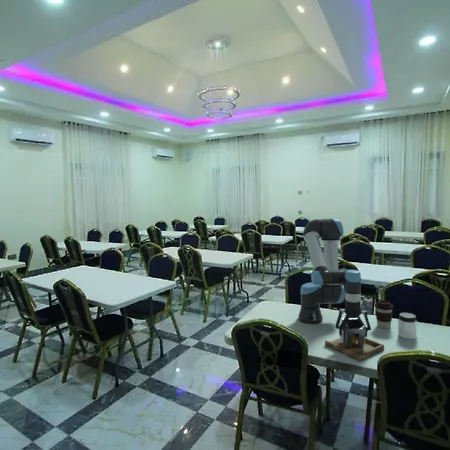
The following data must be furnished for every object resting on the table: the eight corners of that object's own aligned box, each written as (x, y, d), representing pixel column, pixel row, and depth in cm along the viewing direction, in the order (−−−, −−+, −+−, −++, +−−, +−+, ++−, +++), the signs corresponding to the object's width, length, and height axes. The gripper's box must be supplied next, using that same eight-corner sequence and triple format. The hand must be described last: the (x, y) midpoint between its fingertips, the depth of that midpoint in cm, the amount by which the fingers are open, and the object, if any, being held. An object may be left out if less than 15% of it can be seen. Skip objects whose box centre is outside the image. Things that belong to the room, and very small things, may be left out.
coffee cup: (392, 331, 185) (392, 305, 184) (373, 328, 191) (373, 303, 189) (393, 325, 194) (394, 300, 192) (375, 322, 199) (375, 298, 198)
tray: (324, 345, 172) (324, 340, 171) (349, 335, 182) (349, 331, 182) (359, 361, 154) (359, 356, 154) (384, 349, 164) (384, 344, 164)
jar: (399, 338, 176) (400, 317, 175) (396, 332, 184) (397, 312, 182) (418, 340, 173) (418, 318, 172) (414, 333, 181) (414, 313, 180)
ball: (357, 345, 167) (347, 346, 169) (357, 342, 171) (349, 343, 173) (354, 336, 167) (345, 337, 169) (355, 334, 171) (346, 334, 173)
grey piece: (345, 348, 165) (347, 329, 161) (340, 336, 174) (341, 318, 170) (363, 348, 165) (365, 328, 161) (356, 336, 174) (358, 317, 170)
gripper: (330, 301, 164) (331, 343, 166) (378, 303, 159) (377, 346, 161) (329, 297, 172) (329, 337, 174) (374, 298, 166) (374, 340, 168)
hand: (353, 341), depth 167 cm, fingers closed on grey piece, 10 cm apart
